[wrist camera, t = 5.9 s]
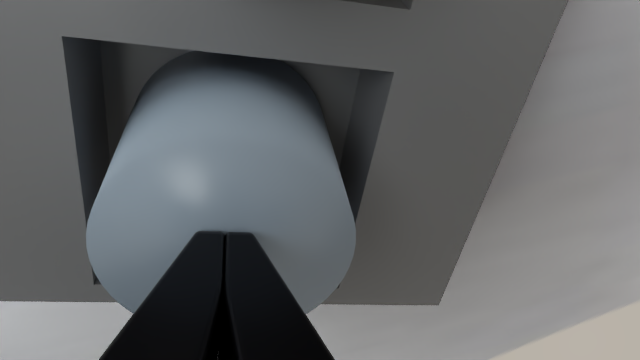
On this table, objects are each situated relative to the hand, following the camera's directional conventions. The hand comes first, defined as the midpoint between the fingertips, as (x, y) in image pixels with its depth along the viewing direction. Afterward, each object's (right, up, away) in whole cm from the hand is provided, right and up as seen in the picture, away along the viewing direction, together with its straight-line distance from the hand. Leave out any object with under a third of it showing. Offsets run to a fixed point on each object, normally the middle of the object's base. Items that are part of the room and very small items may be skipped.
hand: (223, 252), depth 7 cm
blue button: (0, +2, +3) cm, 4 cm away
